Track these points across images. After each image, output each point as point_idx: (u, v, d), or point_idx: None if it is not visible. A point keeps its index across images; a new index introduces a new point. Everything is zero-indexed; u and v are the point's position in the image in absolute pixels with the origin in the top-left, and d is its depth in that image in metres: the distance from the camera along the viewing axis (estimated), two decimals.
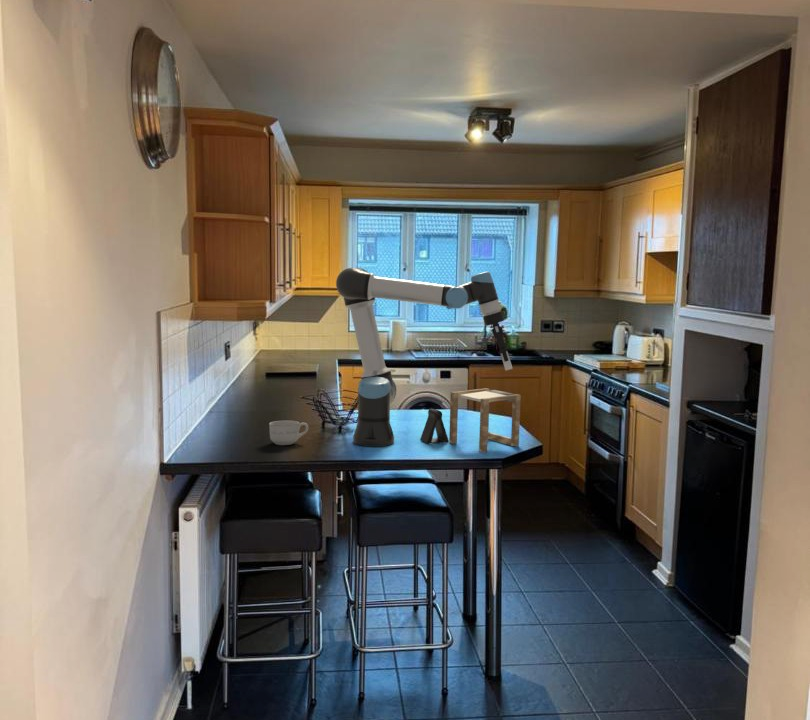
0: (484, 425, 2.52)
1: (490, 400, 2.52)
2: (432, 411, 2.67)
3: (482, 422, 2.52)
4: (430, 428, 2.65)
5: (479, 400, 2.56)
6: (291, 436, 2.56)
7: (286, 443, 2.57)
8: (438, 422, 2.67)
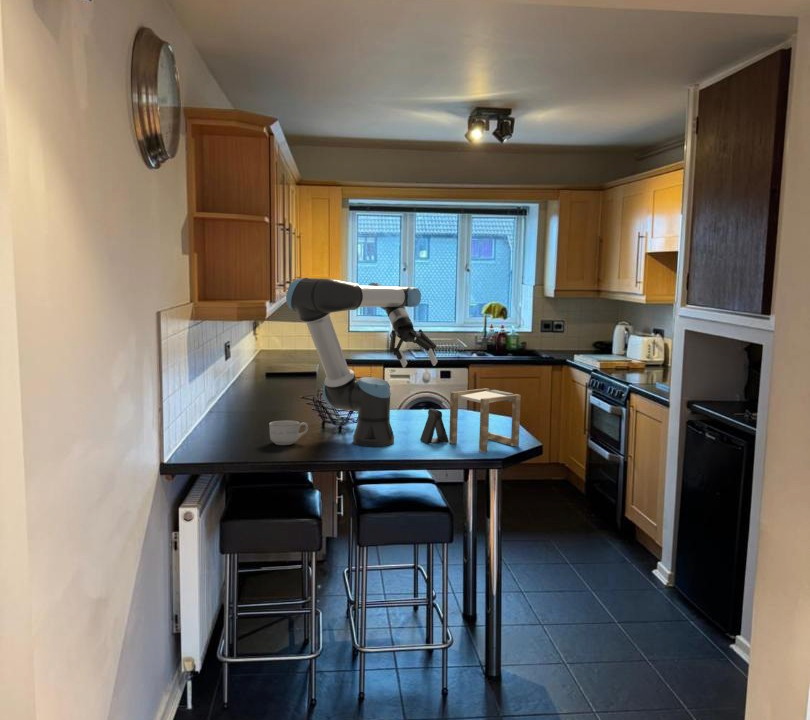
0: (484, 425, 2.52)
1: (490, 400, 2.52)
2: (432, 411, 2.67)
3: (482, 422, 2.52)
4: (430, 428, 2.65)
5: (479, 401, 2.56)
6: (291, 436, 2.56)
7: (286, 443, 2.57)
8: (438, 422, 2.67)
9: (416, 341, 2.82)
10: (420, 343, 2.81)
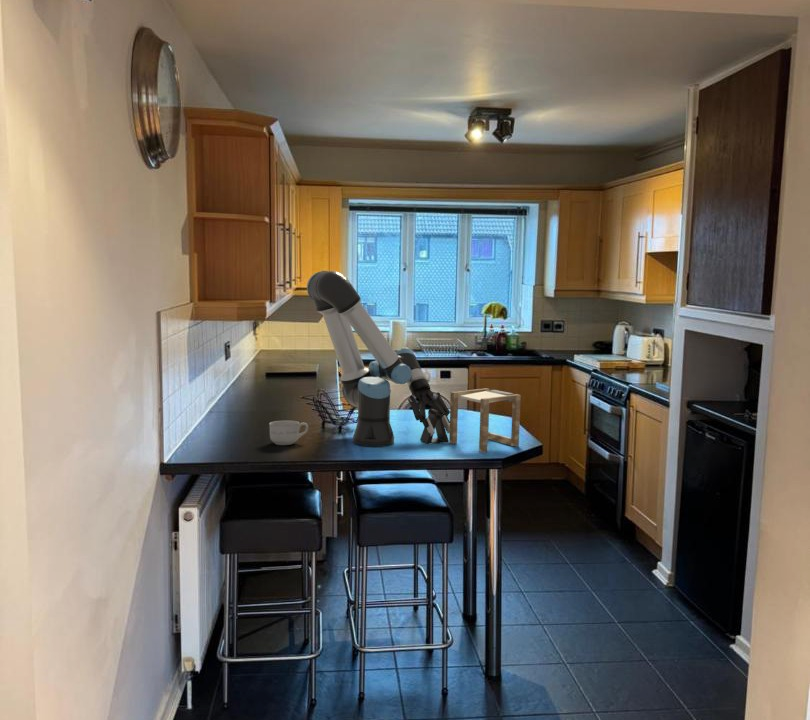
0: (484, 425, 2.52)
1: (490, 400, 2.52)
2: (432, 411, 2.67)
3: (482, 422, 2.52)
4: None
5: (479, 401, 2.56)
6: (291, 436, 2.56)
7: (286, 443, 2.57)
8: (438, 422, 2.67)
9: (431, 404, 2.74)
10: (435, 407, 2.73)
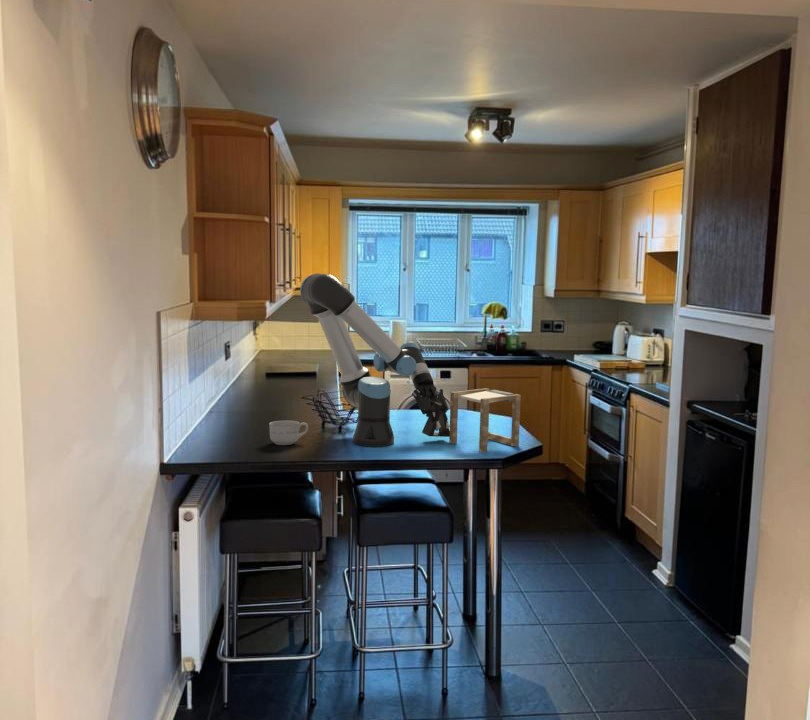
0: (484, 425, 2.52)
1: (490, 400, 2.52)
2: (436, 404, 2.67)
3: (482, 422, 2.52)
4: (433, 421, 2.65)
5: (479, 401, 2.56)
6: (291, 436, 2.56)
7: (286, 443, 2.57)
8: (441, 416, 2.67)
9: (432, 399, 2.73)
10: None
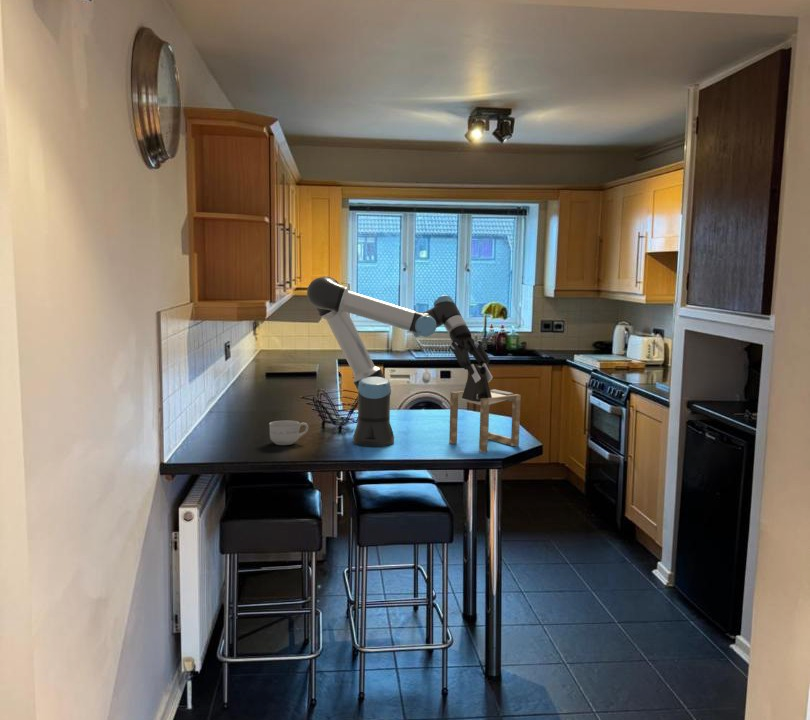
0: (484, 425, 2.52)
1: (490, 400, 2.52)
2: (475, 367, 2.57)
3: (482, 422, 2.52)
4: (474, 385, 2.56)
5: (479, 403, 2.56)
6: (291, 436, 2.56)
7: (286, 443, 2.57)
8: (481, 378, 2.58)
9: (472, 352, 2.64)
10: (475, 354, 2.63)
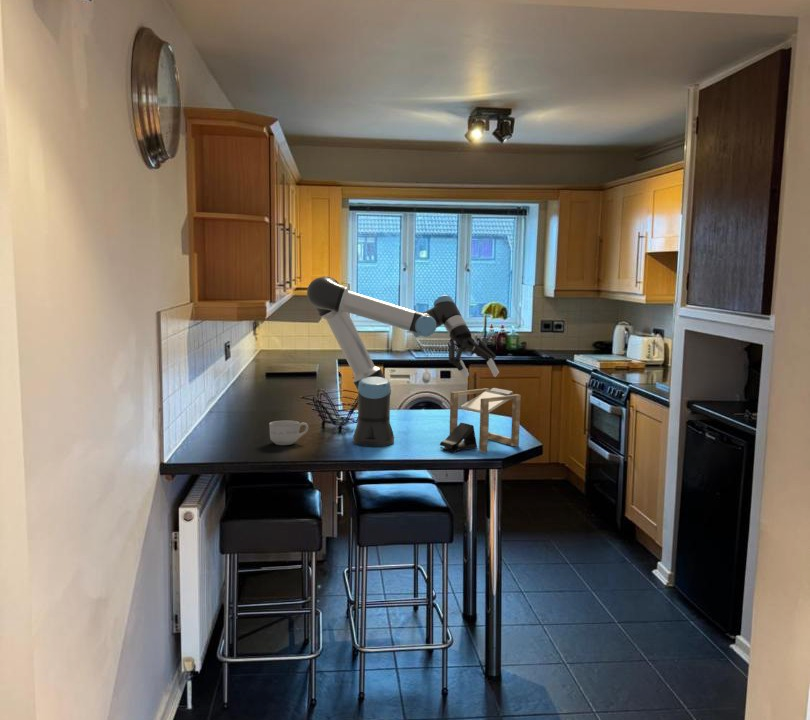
0: (484, 425, 2.52)
1: (490, 400, 2.52)
2: (447, 450, 2.54)
3: (482, 422, 2.52)
4: None
5: None
6: (291, 436, 2.56)
7: (286, 443, 2.57)
8: None
9: (475, 350, 2.65)
10: (479, 352, 2.65)
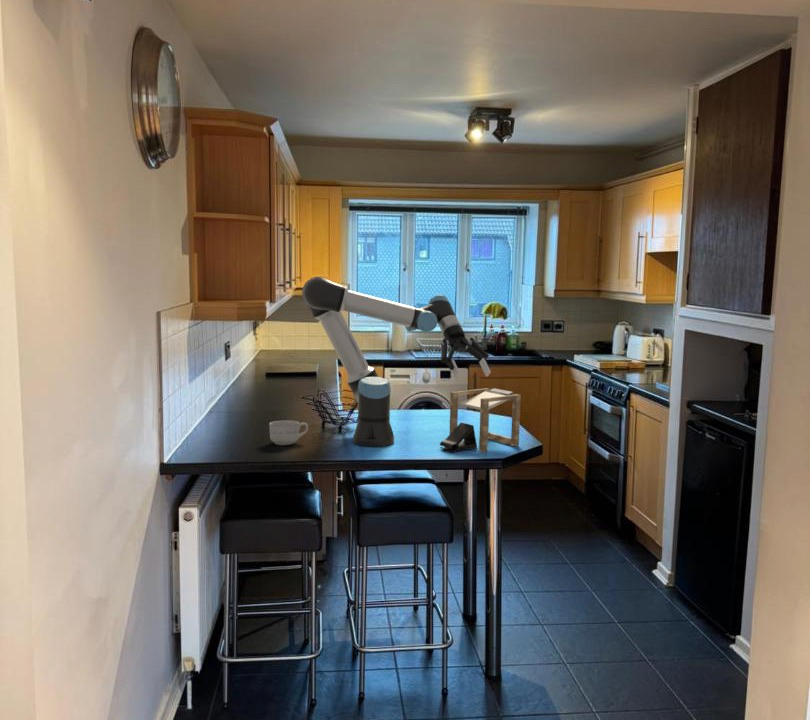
0: (484, 425, 2.52)
1: (490, 400, 2.52)
2: (447, 450, 2.54)
3: (482, 422, 2.52)
4: None
5: None
6: (291, 436, 2.56)
7: (286, 443, 2.57)
8: None
9: (468, 350, 2.70)
10: (472, 352, 2.69)
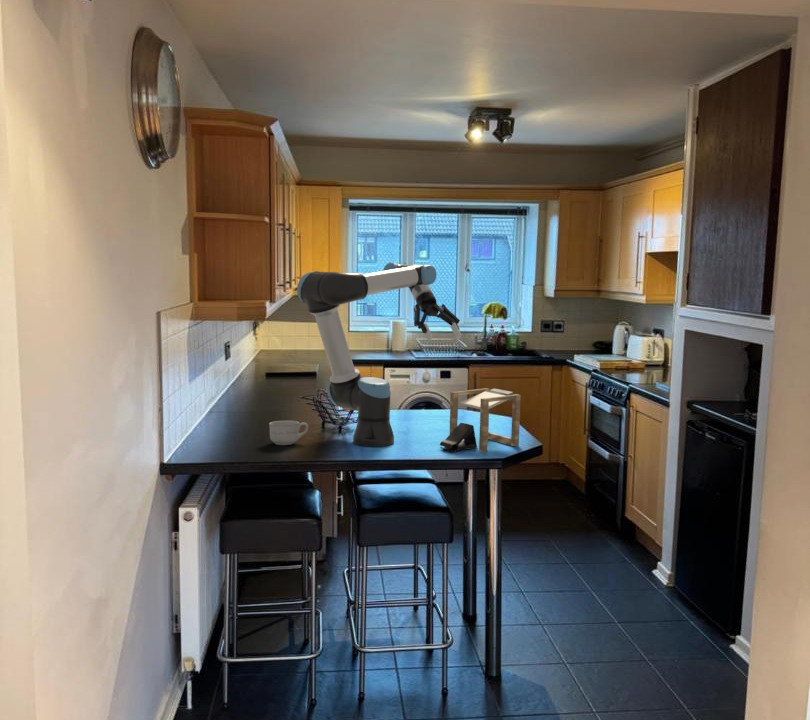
0: (484, 425, 2.52)
1: (490, 400, 2.52)
2: (447, 450, 2.54)
3: (482, 422, 2.52)
4: None
5: None
6: (291, 436, 2.56)
7: (286, 443, 2.57)
8: None
9: (439, 315, 2.83)
10: (444, 317, 2.83)
